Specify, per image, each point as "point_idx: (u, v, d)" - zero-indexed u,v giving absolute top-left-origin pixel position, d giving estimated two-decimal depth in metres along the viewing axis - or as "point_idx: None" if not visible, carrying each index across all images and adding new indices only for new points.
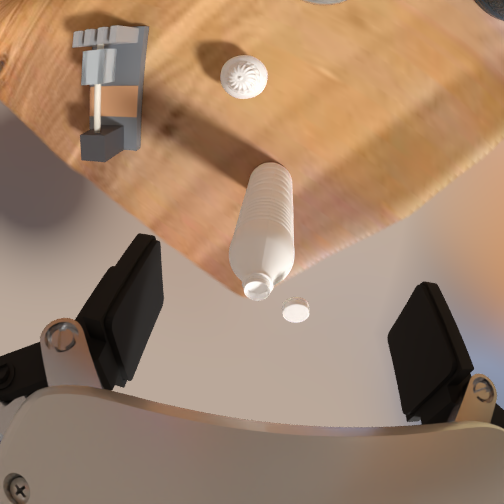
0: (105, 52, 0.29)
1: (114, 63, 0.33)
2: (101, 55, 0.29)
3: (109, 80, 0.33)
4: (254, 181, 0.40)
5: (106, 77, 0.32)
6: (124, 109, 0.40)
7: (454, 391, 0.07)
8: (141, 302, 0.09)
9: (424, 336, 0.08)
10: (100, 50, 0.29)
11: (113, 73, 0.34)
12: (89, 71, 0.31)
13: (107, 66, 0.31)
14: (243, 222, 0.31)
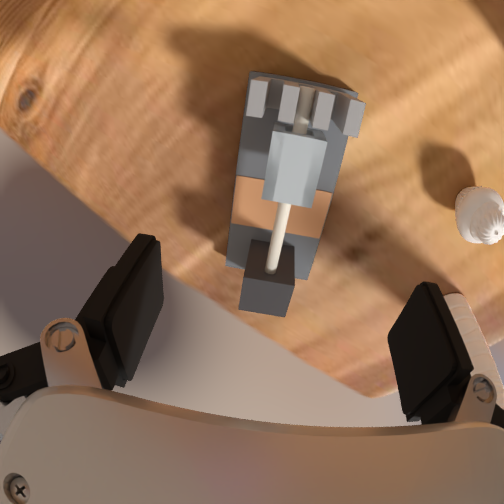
0: (325, 147, 0.19)
1: None
2: (318, 153, 0.19)
3: None
4: None
5: None
6: (301, 224, 0.29)
7: (454, 391, 0.07)
8: (141, 302, 0.09)
9: (424, 336, 0.08)
10: (317, 142, 0.19)
11: None
12: (285, 177, 0.20)
13: None
14: None
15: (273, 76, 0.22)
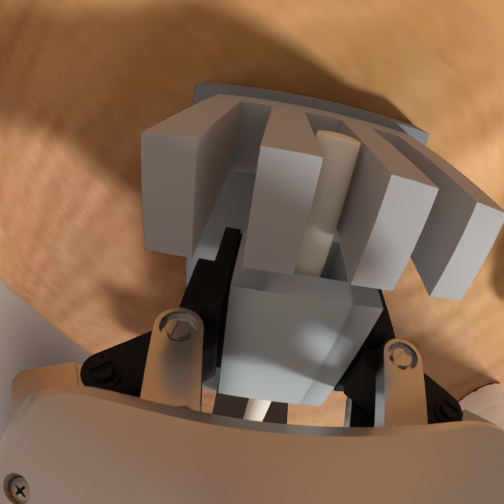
0: (373, 316, 0.07)
1: None
2: (355, 332, 0.07)
3: None
4: None
5: None
6: None
7: (370, 355, 0.08)
8: None
9: None
10: (355, 309, 0.07)
11: None
12: (267, 370, 0.08)
13: None
14: None
15: (248, 93, 0.10)
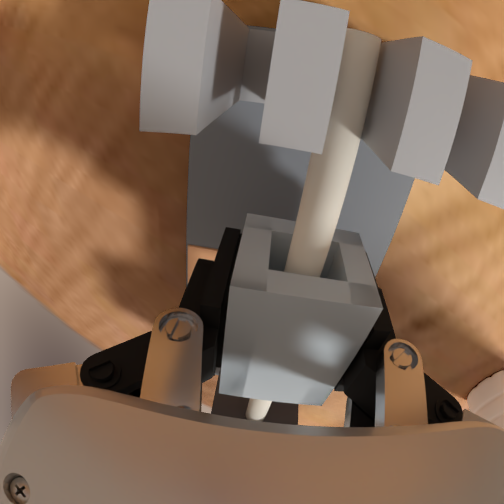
0: (372, 315, 0.07)
1: None
2: (354, 332, 0.07)
3: None
4: None
5: None
6: None
7: (371, 355, 0.08)
8: None
9: None
10: (355, 309, 0.07)
11: None
12: (267, 370, 0.08)
13: None
14: None
15: (256, 30, 0.08)
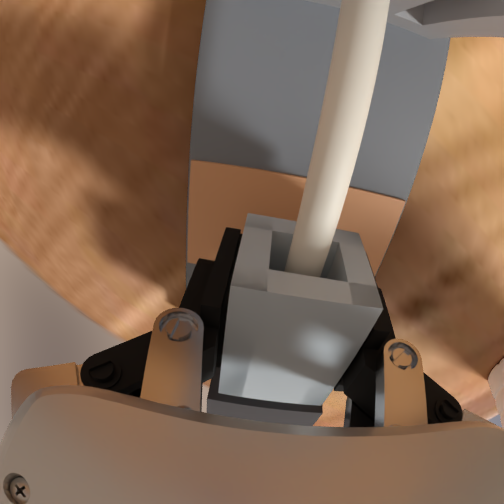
0: (372, 315, 0.07)
1: None
2: (354, 332, 0.07)
3: None
4: None
5: None
6: None
7: (370, 355, 0.08)
8: None
9: None
10: (355, 309, 0.07)
11: None
12: (267, 370, 0.08)
13: None
14: None
15: None
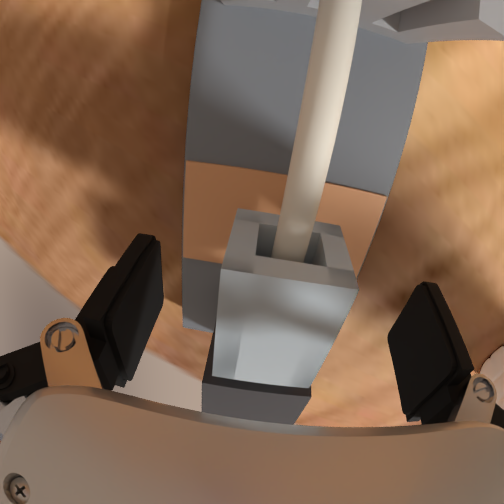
0: (351, 297, 0.08)
1: None
2: (334, 312, 0.08)
3: None
4: None
5: None
6: None
7: (454, 391, 0.07)
8: (141, 302, 0.09)
9: (424, 336, 0.08)
10: (333, 290, 0.08)
11: None
12: (256, 351, 0.09)
13: None
14: None
15: None
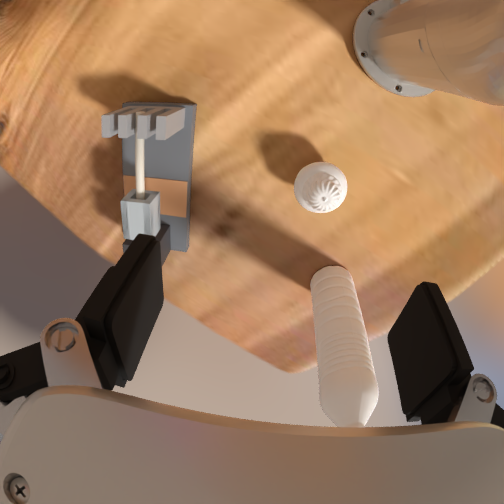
0: (150, 207, 0.32)
1: (159, 210, 0.35)
2: (146, 211, 0.32)
3: (156, 232, 0.36)
4: (325, 298, 0.38)
5: (154, 232, 0.35)
6: (170, 207, 0.39)
7: (454, 391, 0.07)
8: (141, 302, 0.09)
9: (424, 336, 0.08)
10: (144, 204, 0.32)
11: (159, 221, 0.36)
12: (132, 226, 0.33)
13: (153, 220, 0.34)
14: (333, 369, 0.29)
15: (136, 104, 0.31)
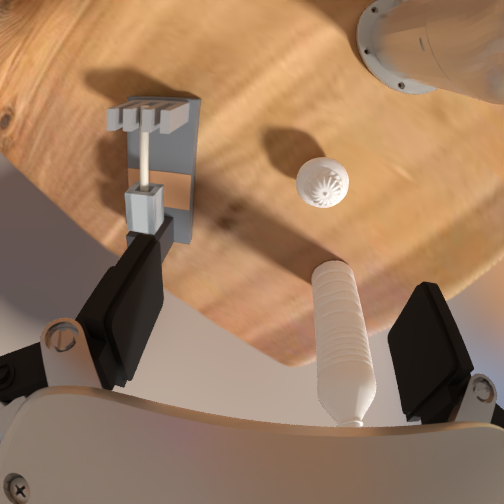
0: (154, 199, 0.32)
1: (162, 202, 0.36)
2: (150, 203, 0.32)
3: (160, 224, 0.36)
4: (326, 293, 0.39)
5: (157, 224, 0.35)
6: (174, 200, 0.39)
7: (454, 391, 0.07)
8: (141, 302, 0.09)
9: (424, 336, 0.08)
10: (147, 197, 0.32)
11: (162, 214, 0.37)
12: (136, 218, 0.34)
13: (157, 212, 0.34)
14: (332, 362, 0.30)
15: (141, 98, 0.31)
